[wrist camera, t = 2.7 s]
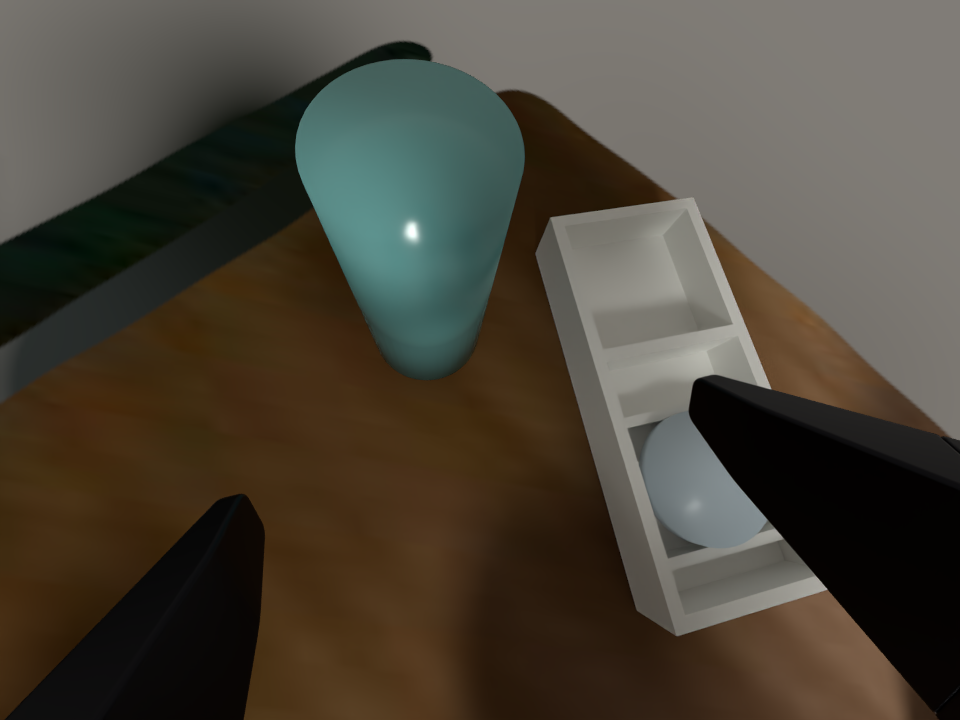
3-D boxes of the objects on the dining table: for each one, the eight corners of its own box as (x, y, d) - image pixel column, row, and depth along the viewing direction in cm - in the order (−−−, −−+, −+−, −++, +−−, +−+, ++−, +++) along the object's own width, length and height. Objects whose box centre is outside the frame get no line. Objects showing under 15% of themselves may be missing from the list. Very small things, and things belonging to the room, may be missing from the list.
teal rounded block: (488, 369, 22) (549, 228, 10) (383, 389, 22) (309, 263, 9) (466, 276, 24) (496, 51, 11) (367, 292, 23) (284, 67, 11)
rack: (784, 566, 21) (850, 582, 18) (636, 610, 20) (676, 636, 16) (660, 234, 26) (693, 197, 22) (535, 253, 25) (550, 217, 21)
